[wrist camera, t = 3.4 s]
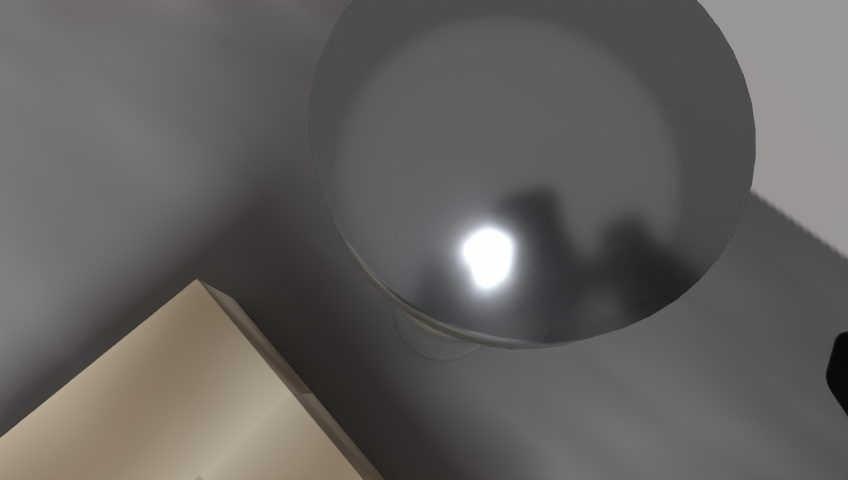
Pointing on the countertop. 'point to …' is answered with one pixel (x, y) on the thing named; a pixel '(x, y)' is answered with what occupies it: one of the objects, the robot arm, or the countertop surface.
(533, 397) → the countertop surface
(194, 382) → the socket block
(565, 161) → the steel pin
